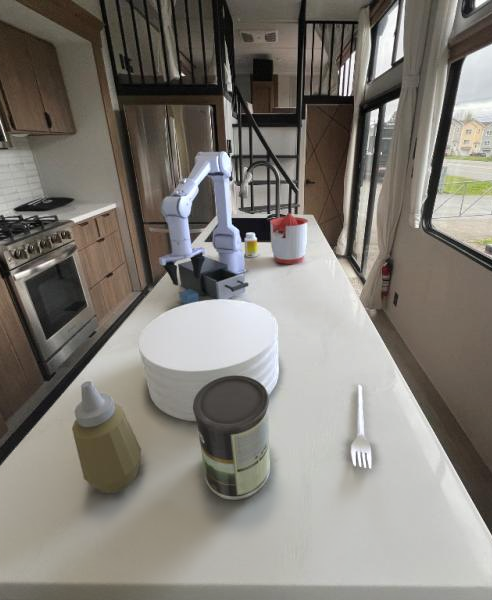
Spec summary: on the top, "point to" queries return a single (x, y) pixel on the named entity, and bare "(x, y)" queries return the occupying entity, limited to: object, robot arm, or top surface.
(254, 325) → the plate stack
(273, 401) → the top surface
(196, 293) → the block
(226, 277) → the grey drawer
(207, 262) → the small drawer box
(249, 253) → the supplement bottle
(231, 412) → the coffee can
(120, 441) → the squeeze bottle
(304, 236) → the citrus juicer
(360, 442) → the fork
